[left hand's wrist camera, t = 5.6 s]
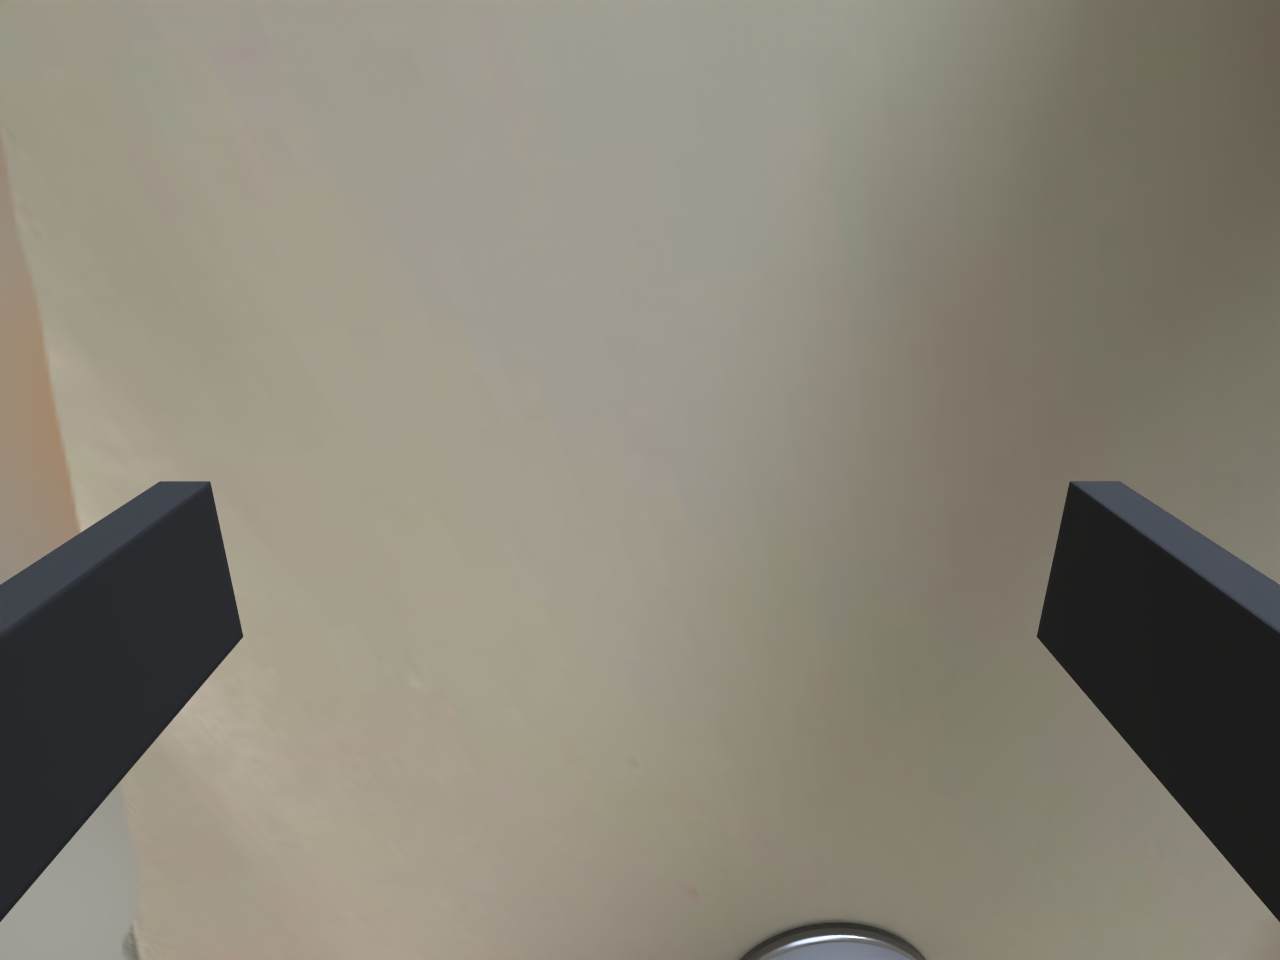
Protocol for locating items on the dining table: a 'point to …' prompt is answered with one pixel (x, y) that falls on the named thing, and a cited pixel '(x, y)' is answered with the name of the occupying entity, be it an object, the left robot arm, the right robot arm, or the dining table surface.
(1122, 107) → the dining table surface
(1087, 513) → the left robot arm
